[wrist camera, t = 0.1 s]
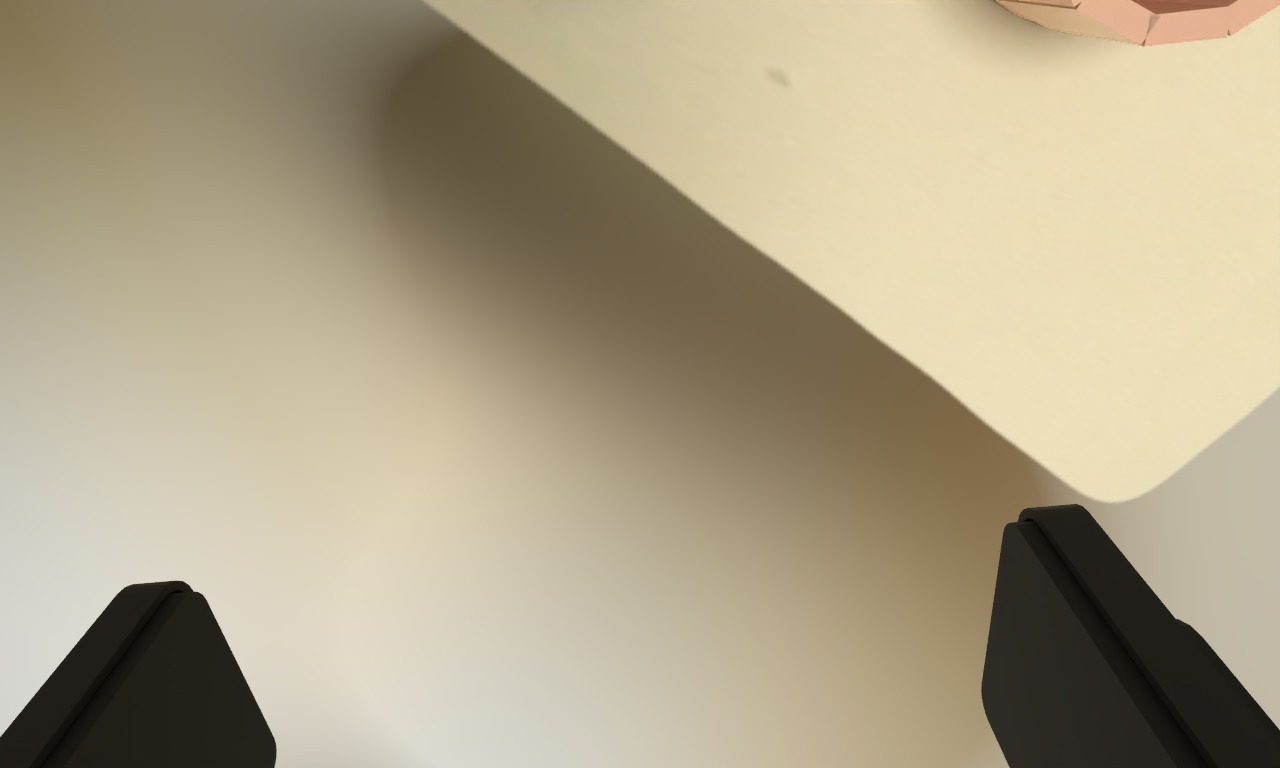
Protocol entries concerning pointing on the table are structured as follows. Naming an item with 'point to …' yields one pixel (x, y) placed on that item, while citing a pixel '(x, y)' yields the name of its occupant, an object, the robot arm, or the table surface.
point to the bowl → (1143, 18)
